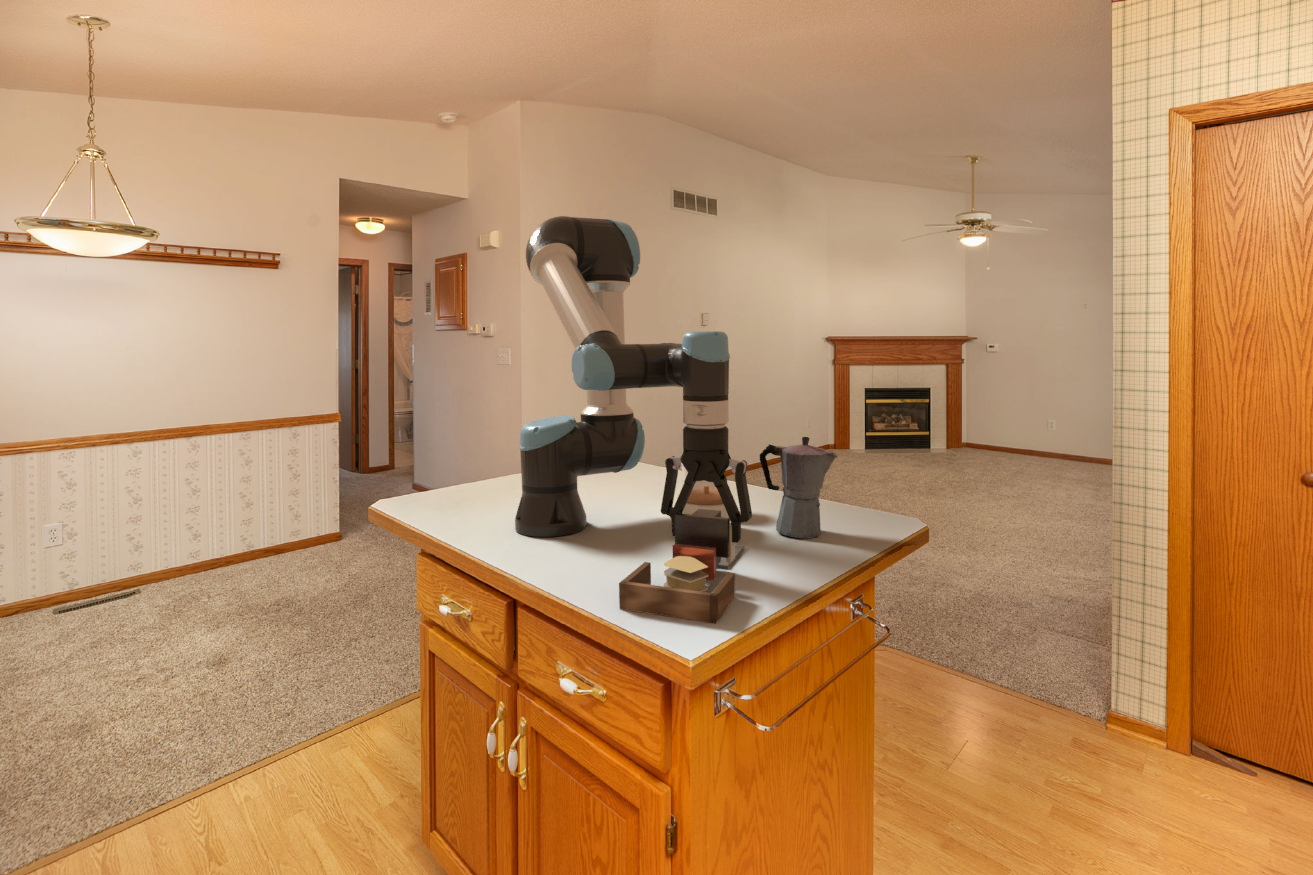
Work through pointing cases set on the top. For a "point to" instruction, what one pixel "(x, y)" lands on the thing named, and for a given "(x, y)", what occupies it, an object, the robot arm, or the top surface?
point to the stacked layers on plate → (685, 574)
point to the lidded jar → (705, 501)
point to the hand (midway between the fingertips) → (705, 557)
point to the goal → (674, 597)
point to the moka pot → (799, 486)
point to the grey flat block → (726, 565)
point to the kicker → (702, 538)
